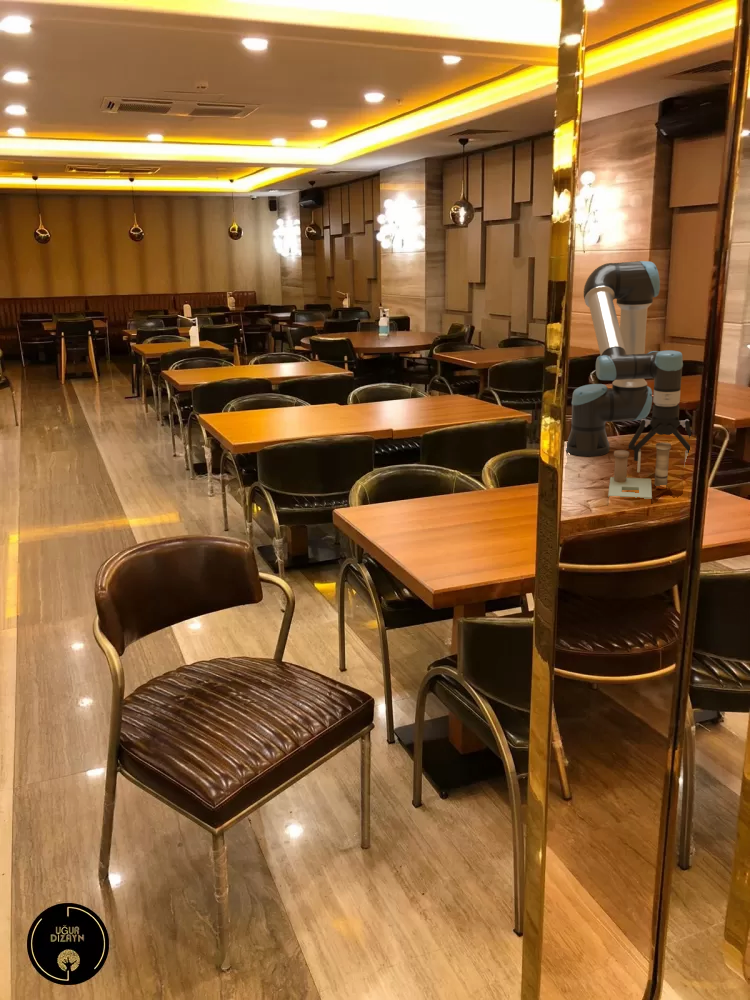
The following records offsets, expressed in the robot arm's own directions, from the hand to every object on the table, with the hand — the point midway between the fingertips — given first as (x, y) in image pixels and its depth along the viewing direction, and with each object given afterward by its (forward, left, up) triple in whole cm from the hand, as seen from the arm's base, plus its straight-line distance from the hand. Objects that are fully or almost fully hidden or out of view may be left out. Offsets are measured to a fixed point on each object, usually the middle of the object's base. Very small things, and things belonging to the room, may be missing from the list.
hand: (661, 471), depth 249 cm
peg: (0, 0, -5) cm, 5 cm away
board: (+12, -9, -5) cm, 16 cm away
